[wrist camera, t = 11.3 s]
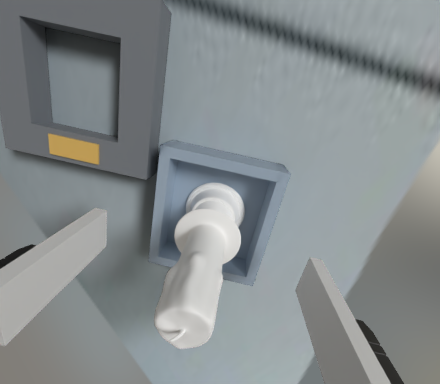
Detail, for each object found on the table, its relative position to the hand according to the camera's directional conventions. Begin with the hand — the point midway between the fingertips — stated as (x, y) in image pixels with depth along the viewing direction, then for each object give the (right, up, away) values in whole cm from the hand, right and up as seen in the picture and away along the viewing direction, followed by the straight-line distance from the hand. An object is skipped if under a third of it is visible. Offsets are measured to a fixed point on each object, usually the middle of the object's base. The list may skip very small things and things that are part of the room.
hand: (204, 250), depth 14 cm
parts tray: (+1, +2, +6) cm, 7 cm away
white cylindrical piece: (+1, +2, +6) cm, 6 cm away
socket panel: (-10, +12, +4) cm, 16 cm away
